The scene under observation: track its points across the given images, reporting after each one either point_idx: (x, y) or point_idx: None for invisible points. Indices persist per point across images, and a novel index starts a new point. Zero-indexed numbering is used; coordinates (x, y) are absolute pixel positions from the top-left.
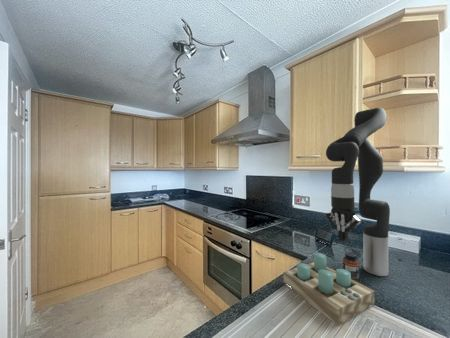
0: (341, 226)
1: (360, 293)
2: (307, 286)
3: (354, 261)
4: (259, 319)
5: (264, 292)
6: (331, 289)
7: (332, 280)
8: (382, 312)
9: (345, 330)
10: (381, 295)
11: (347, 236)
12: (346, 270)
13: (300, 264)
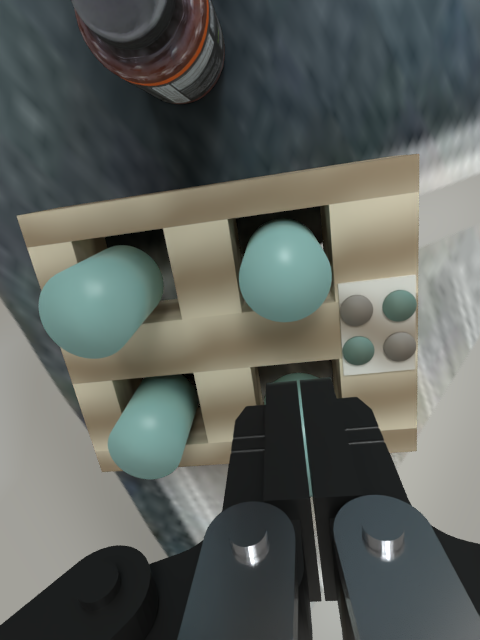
0: (248, 629)
1: (394, 261)
2: None
3: (188, 17)
4: None
5: (158, 520)
6: None
7: None
8: (442, 174)
9: (422, 406)
10: (364, 19)
11: (383, 449)
12: (278, 238)
13: (122, 451)
